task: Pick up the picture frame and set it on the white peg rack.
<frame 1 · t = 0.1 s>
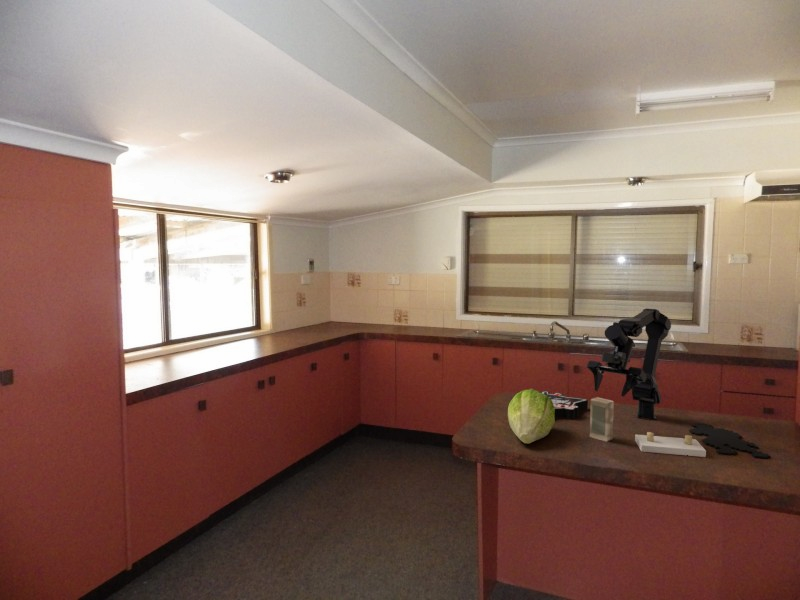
hand: (608, 393, 169), 15 cm above the countertop, fingers open, 9 cm apart
lettuce: (529, 436, 170), on the countertop
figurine: (722, 441, 166), on the countertop
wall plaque: (547, 411, 199), on the countertop
picture frame: (601, 437, 168), on the countertop
white peg rack: (668, 448, 158), on the countertop
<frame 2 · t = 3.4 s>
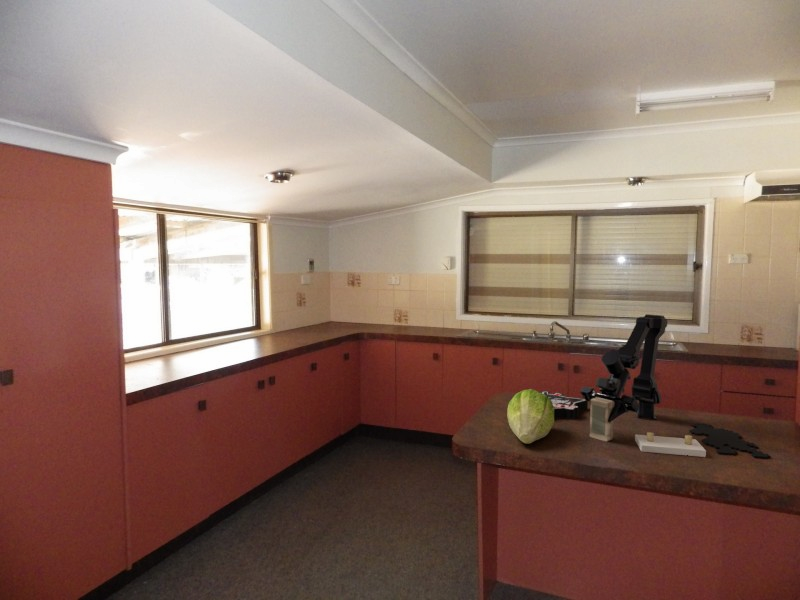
hand: (599, 419, 167), 7 cm above the countertop, fingers closed on picture frame, 6 cm apart
picture frame: (600, 437, 168), on the countertop, touching gripper
everything else where it was.
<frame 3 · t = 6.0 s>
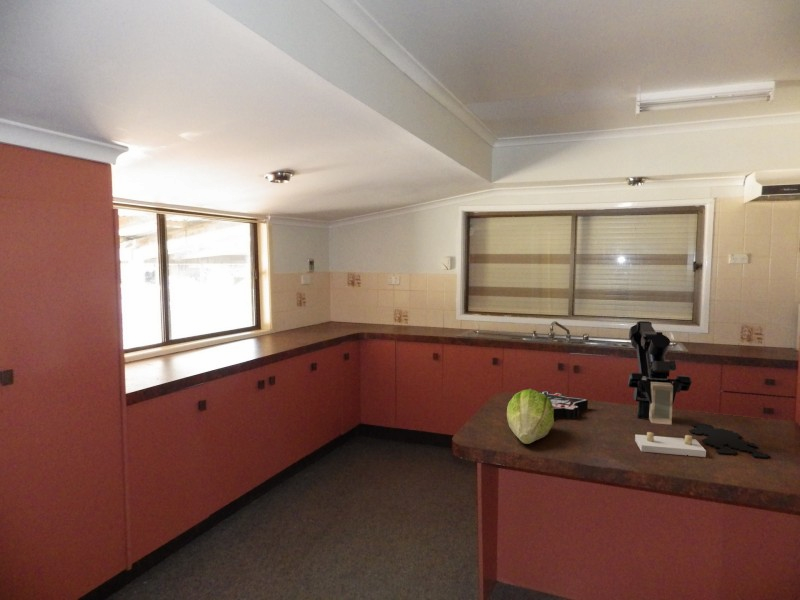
hand: (661, 403, 165), 12 cm above the countertop, fingers closed on picture frame, 6 cm apart
picture frame: (660, 421, 167), point 6 cm above the countertop, touching gripper
everything else where it was.
when the fingers open (9 cm above the countertop, at t = 8.9 s): picture frame stays where it is, resting on white peg rack.
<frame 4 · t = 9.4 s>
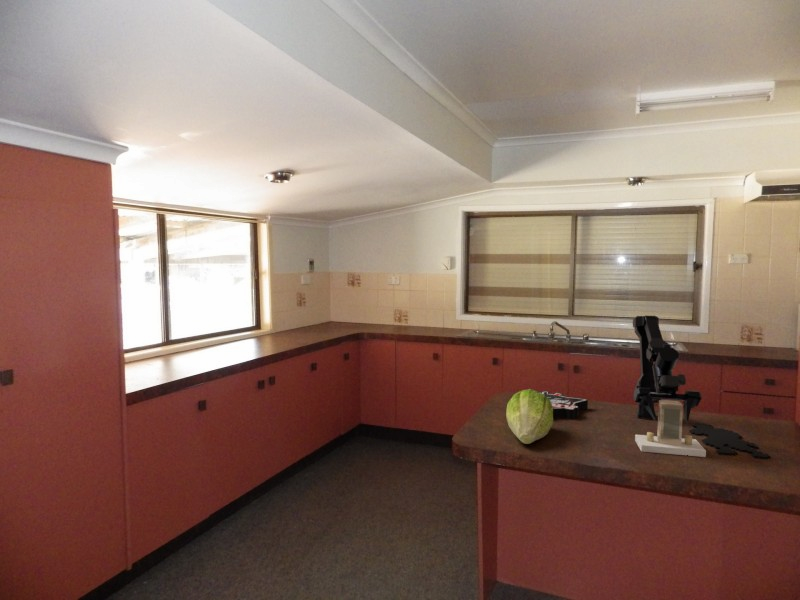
hand: (671, 420, 156), 10 cm above the countertop, fingers open, 9 cm apart
picture frame: (668, 442, 158), point 2 cm above the countertop, touching white peg rack
everything else where it was.
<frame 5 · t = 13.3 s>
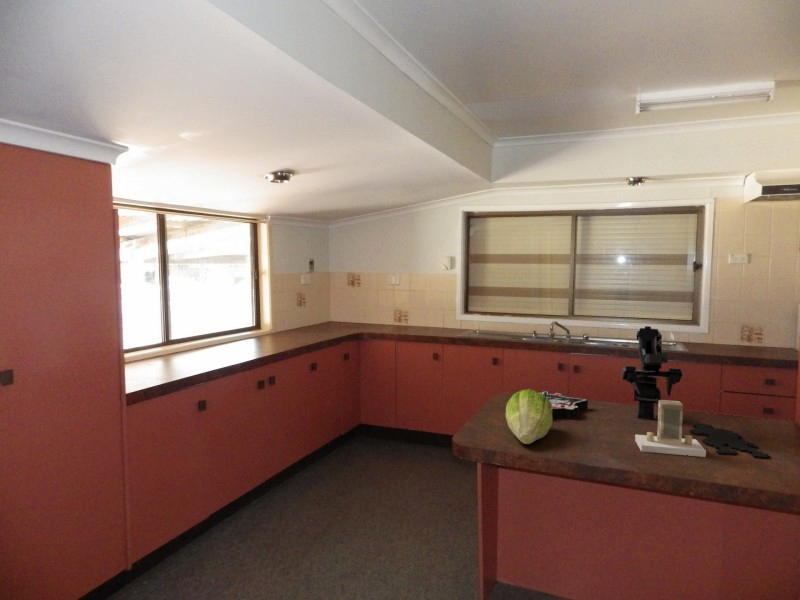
hand: (654, 394, 171), 14 cm above the countertop, fingers open, 9 cm apart
nothing on the countertop moved.
at the end: picture frame 0.0 cm off-centre on the white peg rack, point 2.0 cm above the white peg rack's base; picture frame tilted 0°; the gripper is holding nothing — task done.
